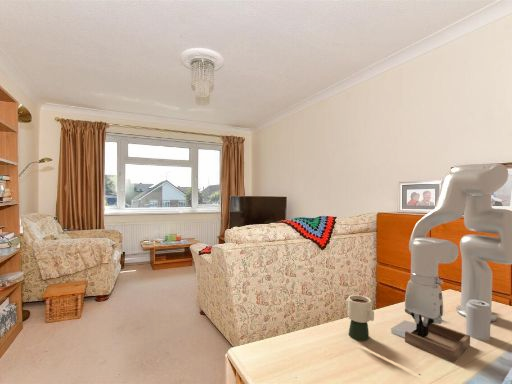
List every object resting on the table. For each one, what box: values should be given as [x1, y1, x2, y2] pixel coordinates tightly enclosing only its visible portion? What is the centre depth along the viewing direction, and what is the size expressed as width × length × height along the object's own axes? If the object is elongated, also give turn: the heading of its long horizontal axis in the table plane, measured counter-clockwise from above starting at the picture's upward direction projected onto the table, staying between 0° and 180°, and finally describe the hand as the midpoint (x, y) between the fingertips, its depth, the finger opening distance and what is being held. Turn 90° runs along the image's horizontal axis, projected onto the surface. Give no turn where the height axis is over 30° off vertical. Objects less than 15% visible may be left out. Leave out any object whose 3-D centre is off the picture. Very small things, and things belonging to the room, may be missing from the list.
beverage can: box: [465, 299, 492, 342], centre depth 93 cm, size 6×6×12 cm
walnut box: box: [404, 323, 471, 363], centre depth 87 cm, size 14×13×4 cm
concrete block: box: [390, 320, 418, 339], centre depth 94 cm, size 10×6×2 cm, turn 128°
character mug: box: [345, 294, 375, 342], centre depth 91 cm, size 11×7×13 cm, turn 29°
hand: (422, 335), depth 91 cm, fingers closed
